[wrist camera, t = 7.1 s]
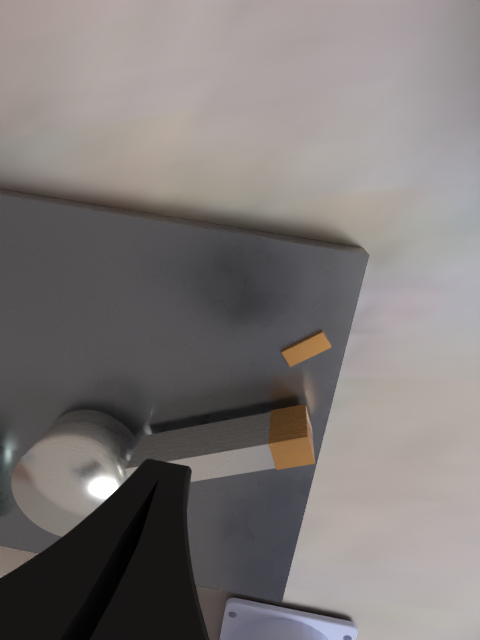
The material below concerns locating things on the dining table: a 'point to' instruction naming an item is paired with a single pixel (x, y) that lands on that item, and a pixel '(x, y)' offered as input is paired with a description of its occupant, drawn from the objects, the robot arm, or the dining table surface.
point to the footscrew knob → (127, 455)
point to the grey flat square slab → (172, 356)
